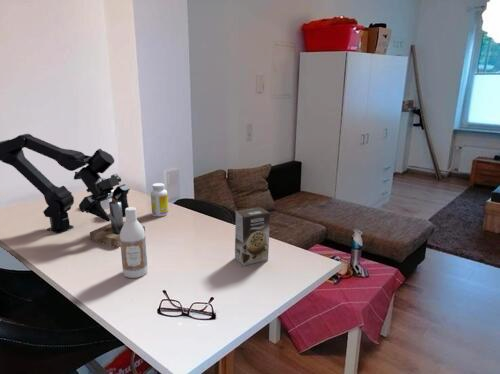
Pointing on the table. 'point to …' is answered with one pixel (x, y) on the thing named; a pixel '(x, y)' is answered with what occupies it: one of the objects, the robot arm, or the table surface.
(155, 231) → the table surface
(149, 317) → the table surface
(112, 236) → the holder block
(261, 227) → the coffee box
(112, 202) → the grey metal cylinder
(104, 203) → the teardrop
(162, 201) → the supplement bottle
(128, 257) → the bath foam
